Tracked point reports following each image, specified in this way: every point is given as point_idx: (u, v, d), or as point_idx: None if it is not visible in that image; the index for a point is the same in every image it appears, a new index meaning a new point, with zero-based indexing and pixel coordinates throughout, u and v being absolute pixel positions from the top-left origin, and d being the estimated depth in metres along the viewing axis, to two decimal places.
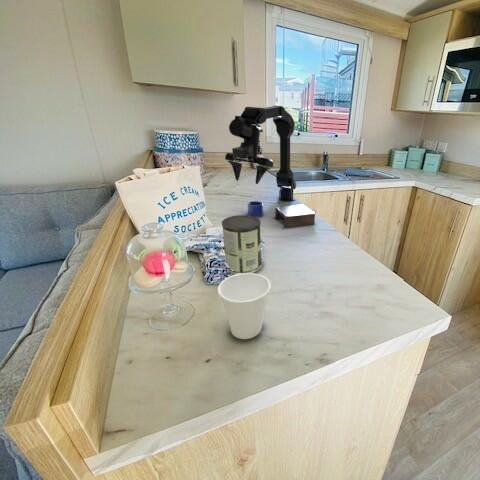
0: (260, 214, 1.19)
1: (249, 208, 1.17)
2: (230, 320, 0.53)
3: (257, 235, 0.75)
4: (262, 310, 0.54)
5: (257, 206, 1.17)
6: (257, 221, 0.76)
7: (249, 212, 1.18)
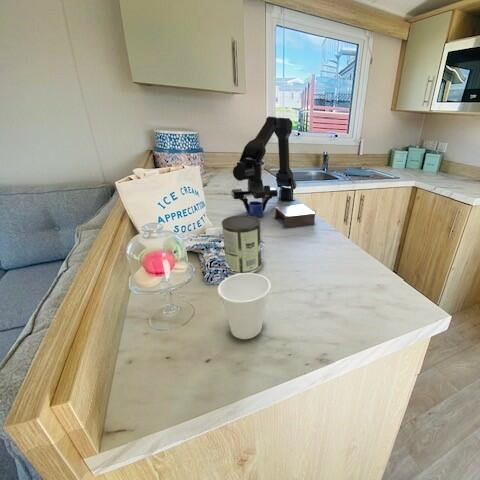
0: (260, 214, 1.19)
1: (249, 208, 1.17)
2: (230, 320, 0.53)
3: (257, 235, 0.75)
4: (262, 310, 0.54)
5: (257, 206, 1.17)
6: (257, 221, 0.76)
7: (249, 212, 1.18)
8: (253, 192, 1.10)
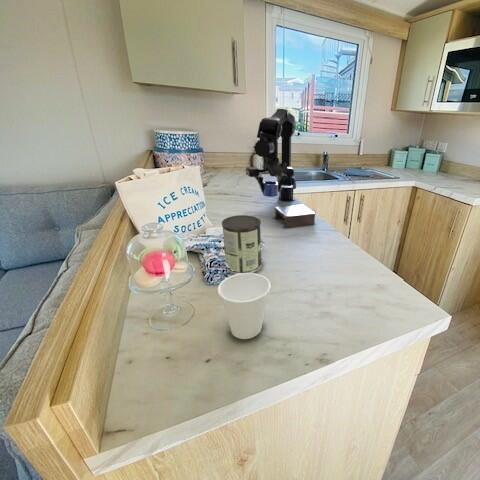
0: (275, 194, 1.13)
1: (264, 187, 1.12)
2: (230, 320, 0.53)
3: (257, 235, 0.75)
4: (262, 310, 0.54)
5: (273, 185, 1.11)
6: (257, 221, 0.76)
7: (264, 192, 1.12)
8: (269, 169, 1.04)
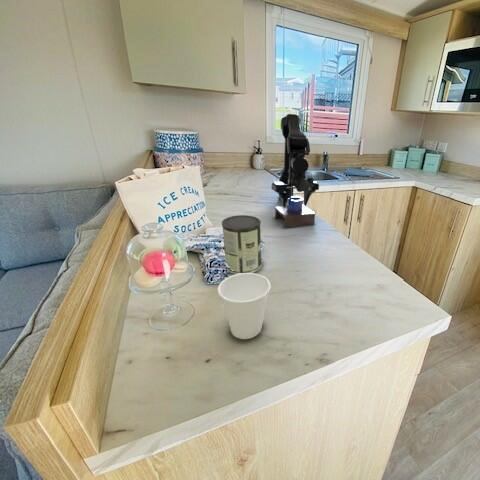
0: (300, 210, 1.13)
1: (289, 203, 1.11)
2: (230, 320, 0.53)
3: (257, 235, 0.75)
4: (262, 310, 0.54)
5: (298, 201, 1.11)
6: (257, 221, 0.76)
7: (289, 208, 1.12)
8: (296, 185, 1.04)
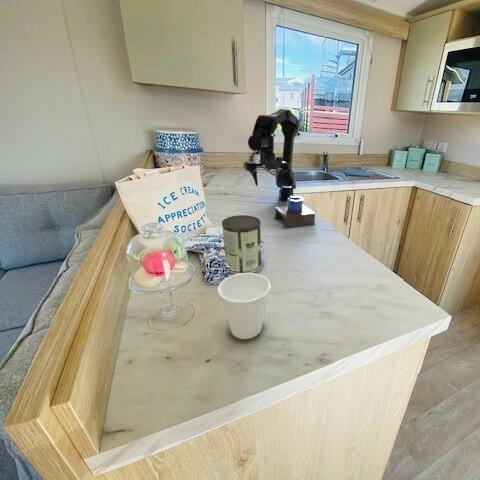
0: (300, 210, 1.13)
1: (289, 203, 1.11)
2: (230, 320, 0.53)
3: (257, 235, 0.75)
4: (262, 310, 0.54)
5: (298, 201, 1.11)
6: (257, 221, 0.76)
7: (289, 208, 1.12)
8: (266, 163, 1.10)
